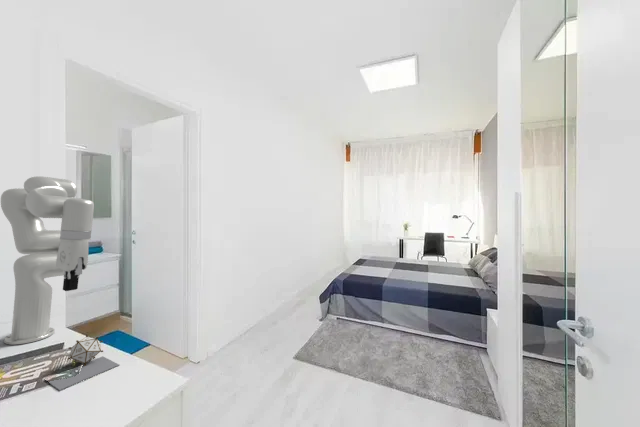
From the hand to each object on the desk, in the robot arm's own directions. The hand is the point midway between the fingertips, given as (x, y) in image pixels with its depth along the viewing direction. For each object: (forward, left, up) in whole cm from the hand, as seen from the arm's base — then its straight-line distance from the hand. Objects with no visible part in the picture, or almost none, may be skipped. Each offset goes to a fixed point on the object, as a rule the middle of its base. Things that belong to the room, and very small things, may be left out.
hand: (70, 289), depth 85 cm
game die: (+6, 0, -20) cm, 21 cm away
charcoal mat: (+15, -1, -22) cm, 27 cm away
